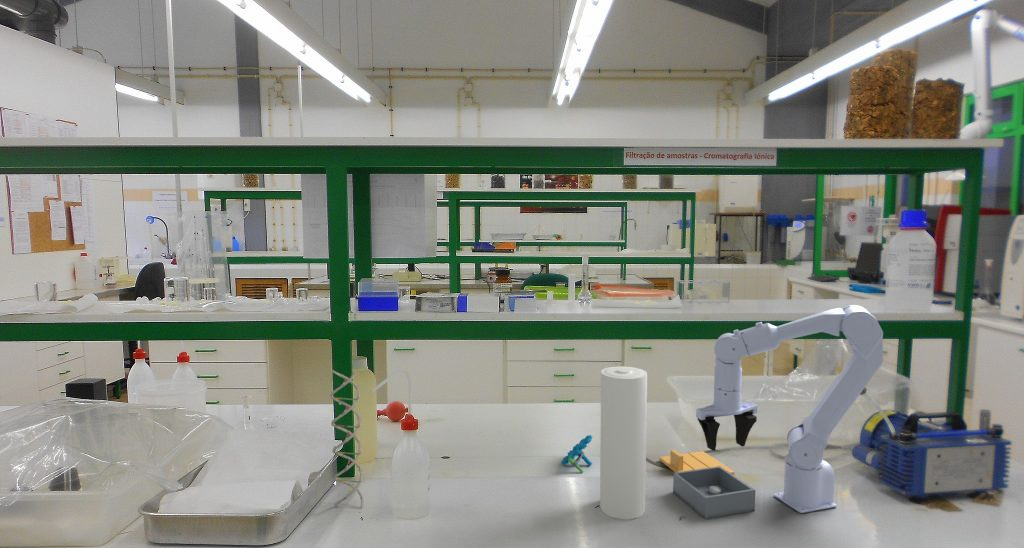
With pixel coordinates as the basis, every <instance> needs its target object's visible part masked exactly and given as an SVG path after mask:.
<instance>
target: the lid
mask: <svg viewBox="0 0 1024 548" xmlns="http://www.w3.org/2000/svg"><path fill="white" fill-rule="evenodd" d="M658 459H659V461H660V462H661V463H662V464H664V465H665V466H666V467H668V468H669V469H670V470H671V471H672V472H673V473H676V472H683V471H689V470H696V469H703V468H710V467H717V466H720V467H722V468H723V469H725V470H726V471H728V472H729V473H731V474H732V475H734V476H735V471H734V470H732V469H731V468H729V467H728V466H726V465H725V464H723V463H722V462H720V461H719V460H717V459H716V458H714V457H713V456H712V455H710V454H708V453H707V452H705V451H704V450H701V451H694V452H686V453H680V452H679V451H677V450H676V449H670V455H664V456H663V455H662V456H659V457H658Z"/></svg>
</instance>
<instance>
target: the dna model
mask: <svg viewBox="0 0 1024 548" xmlns="http://www.w3.org/2000/svg"><path fill="white" fill-rule="evenodd" d="M331 372H332V373H333V374H335V375H337V376H338V377H339V378H343V379H344V381H343V382H342V384H340V386H338V387H337V388H336V389H334V390H333V391H331V393H330V395H329V397H330V398H331V400H334V401H335V402H338V405H339V406H340V405H341V406H342V405H343V406H345V409H344V410H343V412H342V413H340V414H339V415H338V416H337V417H336V418H333V419H332V421H331V423H330V424H331V426H332V427H333V428H336V429H338V430H340V431H342V432H344V433H347V434H346V437H345V439H344V440H343V441H341V442H340V443H339V444H338V445H335V446H333V448H332V453H333V454H334V455H337V456H338V457H339V456H340V457H342V458H345V459H346V460H348V462H347V465H346V466H345V468H344V469H343V470H341V471H338V472H337V473H335V475H334V476H333V478H332V479H333V480H334V481H336V482H339V483H341V485H346V486H348V487H350V488H349V489H348V492H347V494H346V495H345V496H344V497H343V498H341V499H339V500H338V501H336V502H335V503H334V507H337V506H338V507H339V504H341V503H342V502H344V501H346V500H347V499H348V498H349V497H351V496H352V495H353V494H354V493H355V492H357V494H358V495H359V497H360V499H359V500H360V509H363V508H364V497H363V494H362V492H361V491H360V490H359V487H360V486H361V484H362V482H363V481H362V480H363V478H364V477H363V475H364V474H363V468H362V467H361V466H360V464H359V462H357V461H358V460H359V459H360V456H361V454H362V449H363V448H362V447H363V446H362V443H361V441H360V439H359V438H358V437H357V435H356V434H357V433H358V431H359V430H360V427H361V419H362V418H361V416H360V413H359V412H358V411H357V410H356V409H355V407H356V405H357V404H358V403H359V400H360V398H361V397H360V396H361V394H360V393H361V391H360V388H359V386H357V384H356V383H355V382H354V381H353V379H354V378H355V376H356V375H357V374H358V372H357V371H354V373H353V374H351V376H350V377H348V376H345V375H344V374H342V373H340V372H338V371H335V370H334V369H332V370H331ZM348 384H351V385H352V386H353V387H354V388H355V390H356V398H347V397H335V396H334V394H335V393H337V392H338V391H339V390H341V389H342V388H344V387H345V386H346V385H348ZM342 400H346V401H347V400H348V401H354V402H353V403H352V404H351V405H350V404H348V403H347V402H345V401H342ZM351 411H352V413H354V414H355V415H356V417H357V425H346V428H355V429H354V431H353V432H351V429H350V430H348V429H346V428H345V425H344V424H343V425H342V424H336V422H337V421H339V419H341V418H342V417H344V416H345V415H347V414H348V413H349V412H351ZM352 438H353V439H354V440H355V441H356V443H357V444H358V452H345V451H337V449H339V448H340V447H342V446H343V445H345V444H347V442H349V441H350V440H351V439H352ZM348 455H354V456H355V455H356V456H355V459H353V458H352V457H350V456H348ZM350 462H351V463H350ZM354 465H355V467H357V469H358V471H359V480H349V479H341V478H338V477H339V476H340V475H343V474H344V473H345V472H348V470H349V469H351V468H352V467H353V466H354ZM352 483H356V486H355V484H352Z"/></svg>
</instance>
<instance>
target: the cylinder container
mask: <svg viewBox="0 0 1024 548" xmlns="http://www.w3.org/2000/svg"><path fill="white" fill-rule="evenodd" d="M647 403H648V372H647V371H646V370H644V369H642V368H638V367H633V366H622V365H621V366H618V365H617V366H609V367H604V368H602V369H601V371H600V451H599V453H600V456H599V457H600V467H599V468H600V470H599V471H600V479H599V482H600V483H599V489H600V490H599V491H600V492H599V508H600V510H601V512H602V513H603V514H605V515H607V516H608V517H610V518H614V519H616V520H617V519H618V520H634V518H635V519H638V518H640V517H642V516H643V515H645V512H646V479H647V478H646V476H647V474H646V472H647V470H646V469H647V468H646V467H647V422H648V421H647V420H648V419H647V417H648V416H647V414H648V413H647V412H648V410H647V409H648V407H647V405H648V404H647Z"/></svg>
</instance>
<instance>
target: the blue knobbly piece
mask: <svg viewBox="0 0 1024 548" xmlns="http://www.w3.org/2000/svg"><path fill="white" fill-rule="evenodd" d="M592 439H593V436H592V435H591V434H589V435H588V434H587V435H586V436H585V438H582V439H580V441H579V442H578V443H576V444H575V445H574V446H573V447H572V450H569V451H568V452H567V455H566V456H564V457H563V458H562V461H561V465H563V466H567V465H568V464H570V465H571V466H572V468H576V469H577V470H578V472H579V473H581V474H583V473H584V472H585V471H584V470H583V469H582V468H581V466H580V465H578V464H579V462H580V461H581V459H582V460H583V461H584V462H585V464H586V465H587V466H588V467H591V466H592V465H593V463H592V461H591V460H590V459H589V458H588V457H587V456H586V455H585V452H584V450H585V449H586V448H588V447H587V446H588V444H589V443H591V442H592Z"/></svg>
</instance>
